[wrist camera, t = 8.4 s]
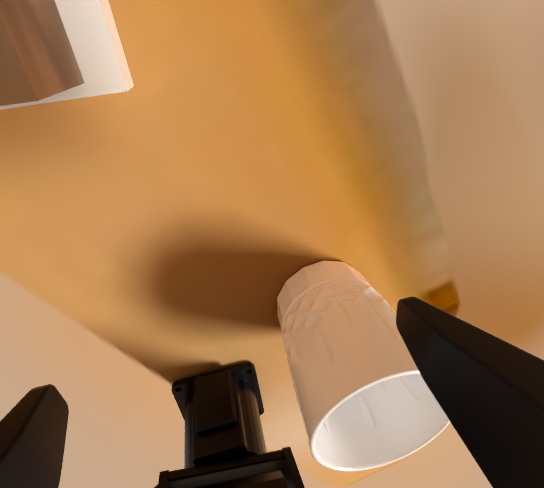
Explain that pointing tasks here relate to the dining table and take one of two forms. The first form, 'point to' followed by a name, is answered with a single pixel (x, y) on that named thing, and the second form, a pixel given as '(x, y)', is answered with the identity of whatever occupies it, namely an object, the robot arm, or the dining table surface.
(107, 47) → the l-shaped block
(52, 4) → the walnut cube
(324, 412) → the white cup
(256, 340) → the dining table surface
